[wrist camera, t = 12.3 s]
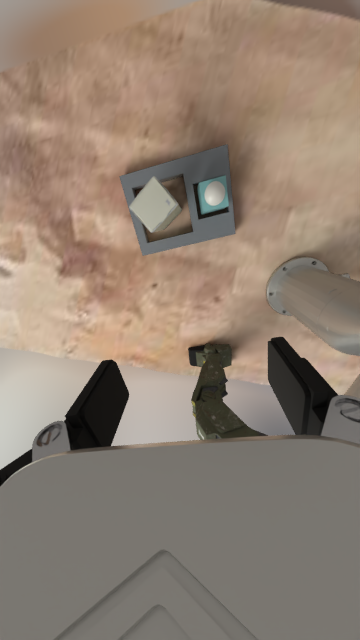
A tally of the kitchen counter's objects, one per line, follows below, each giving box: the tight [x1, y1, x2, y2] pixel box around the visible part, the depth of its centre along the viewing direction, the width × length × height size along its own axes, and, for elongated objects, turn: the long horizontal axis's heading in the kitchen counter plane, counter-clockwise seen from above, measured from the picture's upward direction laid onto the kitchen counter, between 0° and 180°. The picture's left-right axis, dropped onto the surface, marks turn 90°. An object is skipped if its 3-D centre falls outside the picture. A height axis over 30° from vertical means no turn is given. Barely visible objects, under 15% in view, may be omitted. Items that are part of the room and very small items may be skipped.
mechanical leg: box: [188, 344, 268, 440], centre depth 37 cm, size 14×7×30 cm, turn 95°
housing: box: [119, 144, 235, 256], centre depth 34 cm, size 18×13×2 cm
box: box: [129, 176, 182, 233], centre depth 30 cm, size 5×4×13 cm
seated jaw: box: [197, 175, 229, 215], centre depth 31 cm, size 4×4×7 cm
